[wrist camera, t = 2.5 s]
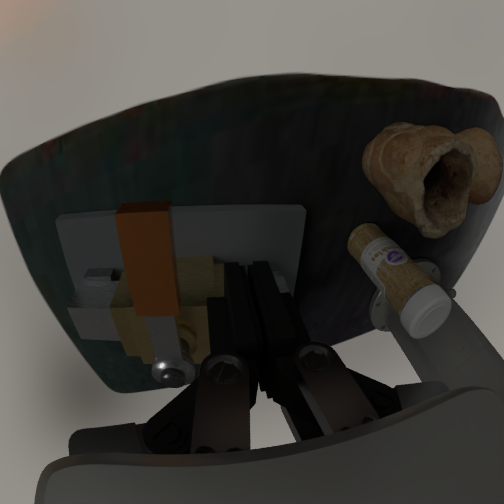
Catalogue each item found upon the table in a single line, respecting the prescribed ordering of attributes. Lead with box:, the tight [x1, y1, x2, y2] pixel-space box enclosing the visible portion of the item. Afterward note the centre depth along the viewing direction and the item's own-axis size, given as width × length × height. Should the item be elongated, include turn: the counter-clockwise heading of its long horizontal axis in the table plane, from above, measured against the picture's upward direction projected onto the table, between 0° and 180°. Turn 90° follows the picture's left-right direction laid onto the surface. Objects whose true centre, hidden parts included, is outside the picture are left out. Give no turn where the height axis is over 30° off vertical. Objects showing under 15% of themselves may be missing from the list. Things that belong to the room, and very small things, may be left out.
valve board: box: [55, 205, 306, 297], centre depth 28 cm, size 24×16×2 cm, turn 87°
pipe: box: [362, 122, 503, 239], centre depth 21 cm, size 9×16×10 cm, turn 98°
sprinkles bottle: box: [348, 223, 452, 339], centre depth 24 cm, size 5×5×13 cm
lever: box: [115, 201, 195, 388], centre depth 16 cm, size 14×3×2 cm, turn 177°
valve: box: [67, 256, 289, 364], centre depth 24 cm, size 20×7×9 cm, turn 87°
